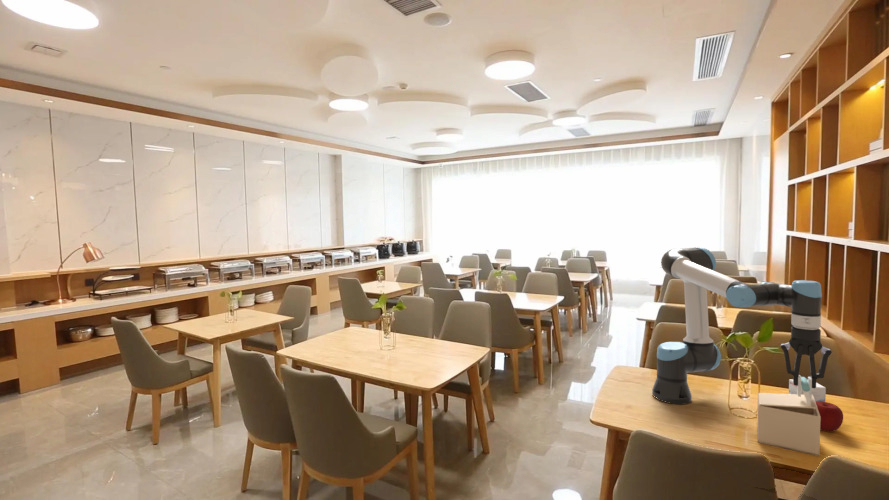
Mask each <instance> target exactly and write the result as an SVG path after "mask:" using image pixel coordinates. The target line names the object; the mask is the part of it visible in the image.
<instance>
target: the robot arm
mask: <svg viewBox="0 0 889 500" xmlns="http://www.w3.org/2000/svg"><path fill="white" fill-rule="evenodd" d="M660 265H661V268H662V270H663V272H664V273H666V274H668V275H669V276H671V277H673V278H675V279H680V280H681V281H682V282H683V289H684V290H683V291H684V310H685V328H686V330H685V331H686V336H684V337H683V338H682V341H666V342H662V343H660V344H658V346H657V349H656V351H657V352H656V379H655V382H654V384H653V386H652V388H651V391H652V393H651V395H652V394H653V395H654V396H655V397H657V398H658V399H660V400H663V401H666V402H665V403H667V402H670V403H669V404H672V403H675V404H674V405H686V404H690V403H691V402H692V401H693V400H692V393H691V389H690V387H689V384H688V374H689V373H690V374H691V373H696V372H698V373H699V372H708V371H713V370H715V369H716V368H717V367H719V365H720V363H721V361H722V353H721V351H720V349H719V346H717V345H716V344H715V343H714V342H715V341H714V340H713V338H711V337H710V330H709V329H710V328H709V327H710V326H709V325H710V323H709V310H708V292H707V291H710V292H712V293H714V294H717V295H719V296H721V297H723V298H725V299H726V300H727V302H728V303H729V305H731V306H732V307H734V308H735V307H736V308H750V307H758V306H759V307H761V306H762V307H763V306H774V305H775V306H776V305H777V306H782V307H783V306H784V307H790V308H791V318H790V319H791V321H790V323H791V325H792V326H791V327H790V339H789V340H788V342H786V343H780V348H781V349H782V351H783V355H784V363H785V368H786V374H789V375H792V377H793V378H792V379H793V383H794V385H796V386H797V395H798V396H800V397H801V377H802V376H801V375H800V374H799V373H800V367H801V361H802V357H803V356H808V362H809V371H810V376H807V380H808V384H809V387H810V391H808V392H809V398H812V388H816V383H817V379H818V380H819V379H824V378H825V373H826V369H827V365H828V358H829V357H830V355H831V354H832V353H833V351H832V350H831V349H830V348H828V347H825V346H823V344H822V343H821V338H822V336H821V333H822V332H821V331H822V330H821V329H820V328H821V327H822V326H821V325H822V321H821V319H822V316H821V315H822V313H821V312H822V311H821V310H822V297H823V293H822V284H821V283H820V282H819V281H815V280H806V279H800V280H797V279H796V280H793V281H792V283H791V284H786V283H779V282H778V283H777V282H775V281H771V282H769V281H763V282H760V283H759V284H756V283H755V284H749V283H746V282H743V281H740V280H738V279H735V278H734V277H731V276H727V275H726V274H723V273H721V272H719V271H716V270H715V269H716V268H717V260H716V257H715V255H714V254H713V253H712V252H711V251H710V250H709V249H707V248H705V247H704V248H703V247H685V248H672V249H670V250H669V249H668V250H667V251H666V252H665V253H664V254H663V256H662V258H661V260H660ZM790 347H791V348H792V349H793V350H794V352H795V361H794V367H793V369H792V366H791V360H790V358H791V357H790V354H789V350H790ZM820 350H821V351H820ZM818 352H821V354H822V355H821V358H820V363H819V367H818V372H817V371H816V370H817V369H816V362H815V355H816V354H817V353H818ZM653 395H652V396H653ZM655 397H654V398H655ZM658 399H657V400H658ZM660 400H659V401H660ZM663 401H662V402H663Z"/></svg>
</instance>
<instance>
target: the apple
mask: <svg viewBox="0 0 889 500" xmlns="http://www.w3.org/2000/svg"><path fill="white" fill-rule="evenodd" d="M815 402H816V405H817V408H818V411H819V414H820V417H821V420H820V431H823V432H835V431H837V430H838V429H840V427H841V425H843V422H844V413H843V410H842V409H841V408H840V407H839V406H837V404H834V403H830V402H827V401H825V402H823V401H815Z"/></svg>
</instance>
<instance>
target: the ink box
mask: <svg viewBox="0 0 889 500" xmlns="http://www.w3.org/2000/svg"><path fill="white" fill-rule="evenodd" d="M807 381H808V379H807ZM826 391H827V388H826V386H823V385H821V384H820V383H818V382H816V388H812V395H813V397H814V400H815V401H823V402H826V393H827V392H826ZM788 394H797V386H796V385H794V383H793V378H792V379H788ZM801 395H804V391H803V389H802V386H801Z"/></svg>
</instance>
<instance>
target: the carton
mask: <svg viewBox="0 0 889 500" xmlns="http://www.w3.org/2000/svg"><path fill="white" fill-rule="evenodd" d="M820 420H821V417H820V414H819V411H818V408H817V409H816V408H799V407H781V406H764V405H759V393H757V420H756V421H757V423H756V424H757V426H756V427H757V428H756V429H757V443H758V444H759V443H760V444H763V445H768V446H772V447H776V448H781V449H786V450H790V451H794V452H798V451H799V452H798V453H802V452H803V453H802V454H807V455H811V456H812V455H813V456H816V457H820V447H821V444H820V443H821V442H820V441H821V430H820Z"/></svg>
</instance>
